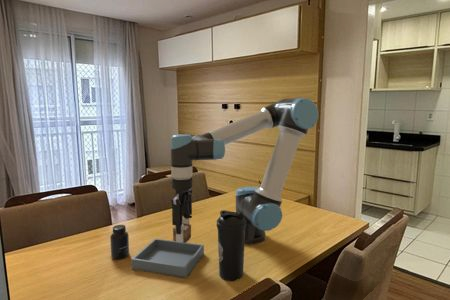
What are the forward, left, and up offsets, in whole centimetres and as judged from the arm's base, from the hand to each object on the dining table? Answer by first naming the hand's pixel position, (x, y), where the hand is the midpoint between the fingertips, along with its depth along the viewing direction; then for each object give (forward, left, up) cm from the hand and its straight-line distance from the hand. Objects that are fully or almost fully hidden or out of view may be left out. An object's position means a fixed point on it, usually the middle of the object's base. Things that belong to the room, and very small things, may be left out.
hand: (182, 238), depth 112 cm
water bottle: (-19, +2, -10) cm, 22 cm away
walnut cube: (0, 0, 0) cm, 1 cm away
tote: (+6, 0, -10) cm, 12 cm away
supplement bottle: (+27, +1, -11) cm, 29 cm away
